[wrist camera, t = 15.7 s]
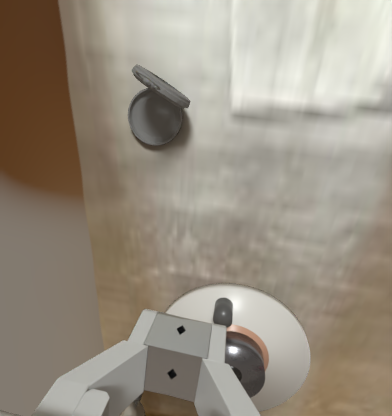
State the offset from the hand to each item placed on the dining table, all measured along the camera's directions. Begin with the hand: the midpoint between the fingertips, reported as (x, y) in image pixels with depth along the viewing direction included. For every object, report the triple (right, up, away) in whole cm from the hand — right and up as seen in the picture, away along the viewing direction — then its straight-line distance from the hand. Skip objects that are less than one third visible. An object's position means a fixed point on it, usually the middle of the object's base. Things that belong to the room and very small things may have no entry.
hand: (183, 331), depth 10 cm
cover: (+5, -17, +30) cm, 35 cm away
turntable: (+6, -16, +33) cm, 37 cm away
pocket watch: (-4, +17, +24) cm, 30 cm away
